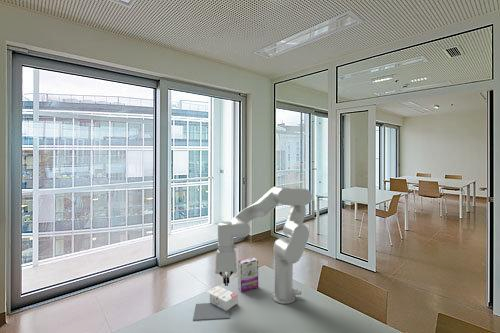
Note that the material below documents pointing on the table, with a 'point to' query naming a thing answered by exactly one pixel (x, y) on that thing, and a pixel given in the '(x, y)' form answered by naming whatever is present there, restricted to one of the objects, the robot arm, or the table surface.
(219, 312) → the mat
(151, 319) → the table surface
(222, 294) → the ink cartridge box
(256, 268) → the candy bar box
